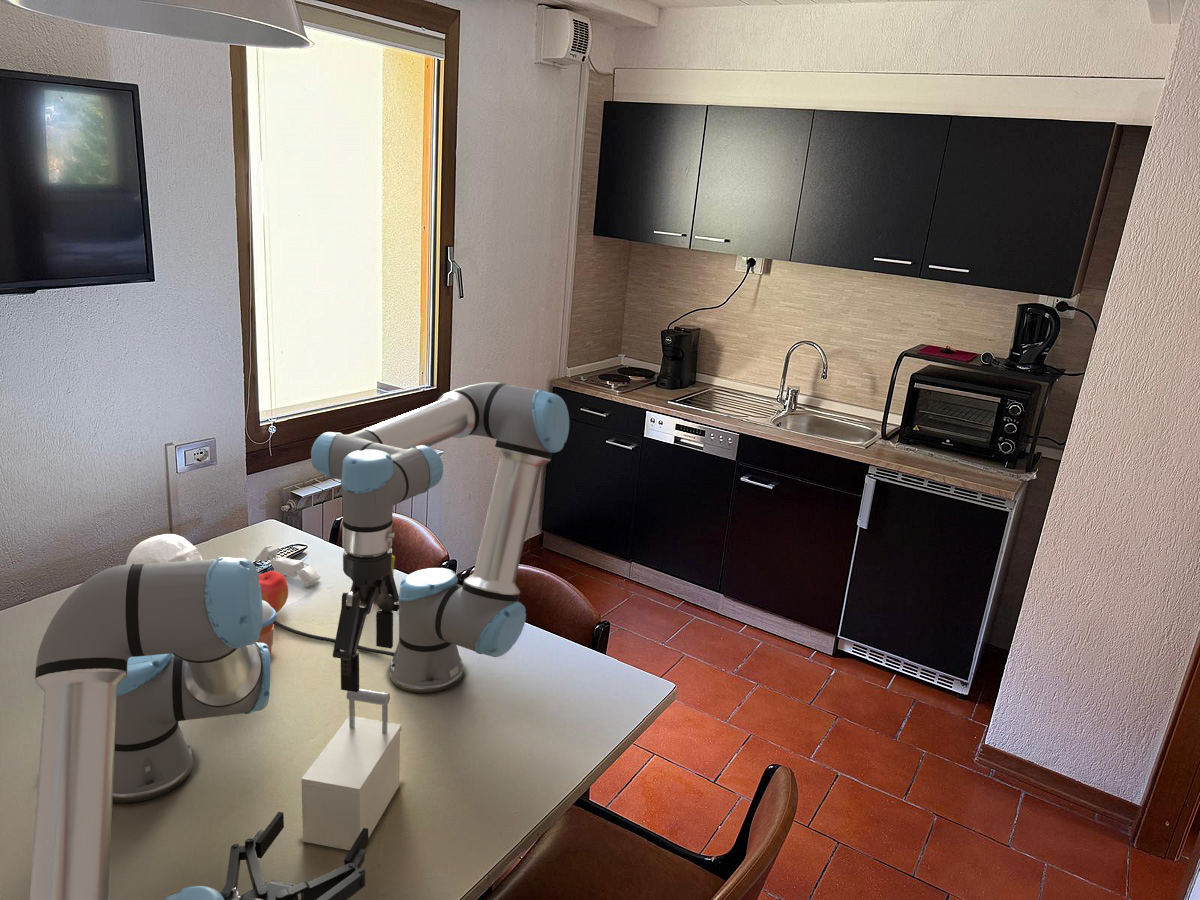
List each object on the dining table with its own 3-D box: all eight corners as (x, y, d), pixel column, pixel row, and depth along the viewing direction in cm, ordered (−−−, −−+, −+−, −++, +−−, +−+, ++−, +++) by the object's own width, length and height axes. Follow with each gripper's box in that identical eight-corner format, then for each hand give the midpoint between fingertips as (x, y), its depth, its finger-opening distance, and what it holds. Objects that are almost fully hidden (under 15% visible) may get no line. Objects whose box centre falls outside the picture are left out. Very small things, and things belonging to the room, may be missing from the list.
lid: (349, 720, 148) (348, 677, 145) (401, 729, 146) (402, 686, 144) (301, 784, 132) (299, 737, 129) (359, 795, 130) (359, 747, 128)
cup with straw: (262, 673, 177) (258, 595, 172) (223, 666, 179) (218, 588, 174) (286, 652, 186) (283, 577, 181) (248, 645, 187) (244, 570, 182)
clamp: (253, 565, 223) (254, 542, 221) (265, 560, 226) (266, 537, 224) (309, 593, 215) (310, 569, 213) (320, 588, 218) (321, 564, 216)
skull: (191, 620, 195) (189, 556, 191) (114, 601, 201) (110, 538, 197) (232, 597, 208) (230, 537, 203) (157, 580, 213) (154, 520, 209)
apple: (273, 600, 207) (272, 562, 204) (297, 613, 202) (296, 575, 199) (237, 614, 200) (234, 575, 197) (261, 628, 194) (259, 588, 191)
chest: (348, 775, 150) (347, 723, 147) (399, 785, 149) (400, 732, 146) (303, 841, 135) (301, 784, 132) (360, 852, 134) (359, 795, 130)
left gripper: (158, 947, 112) (247, 832, 132) (337, 986, 109) (401, 862, 129) (153, 901, 110) (245, 792, 130) (337, 939, 106) (402, 821, 126)
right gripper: (356, 586, 122) (357, 714, 128) (419, 522, 145) (417, 633, 152) (306, 578, 123) (310, 706, 129) (377, 517, 146) (377, 627, 153)
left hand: (323, 827), depth 129 cm, fingers open, 13 cm apart
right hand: (368, 667), depth 140 cm, fingers open, 13 cm apart
